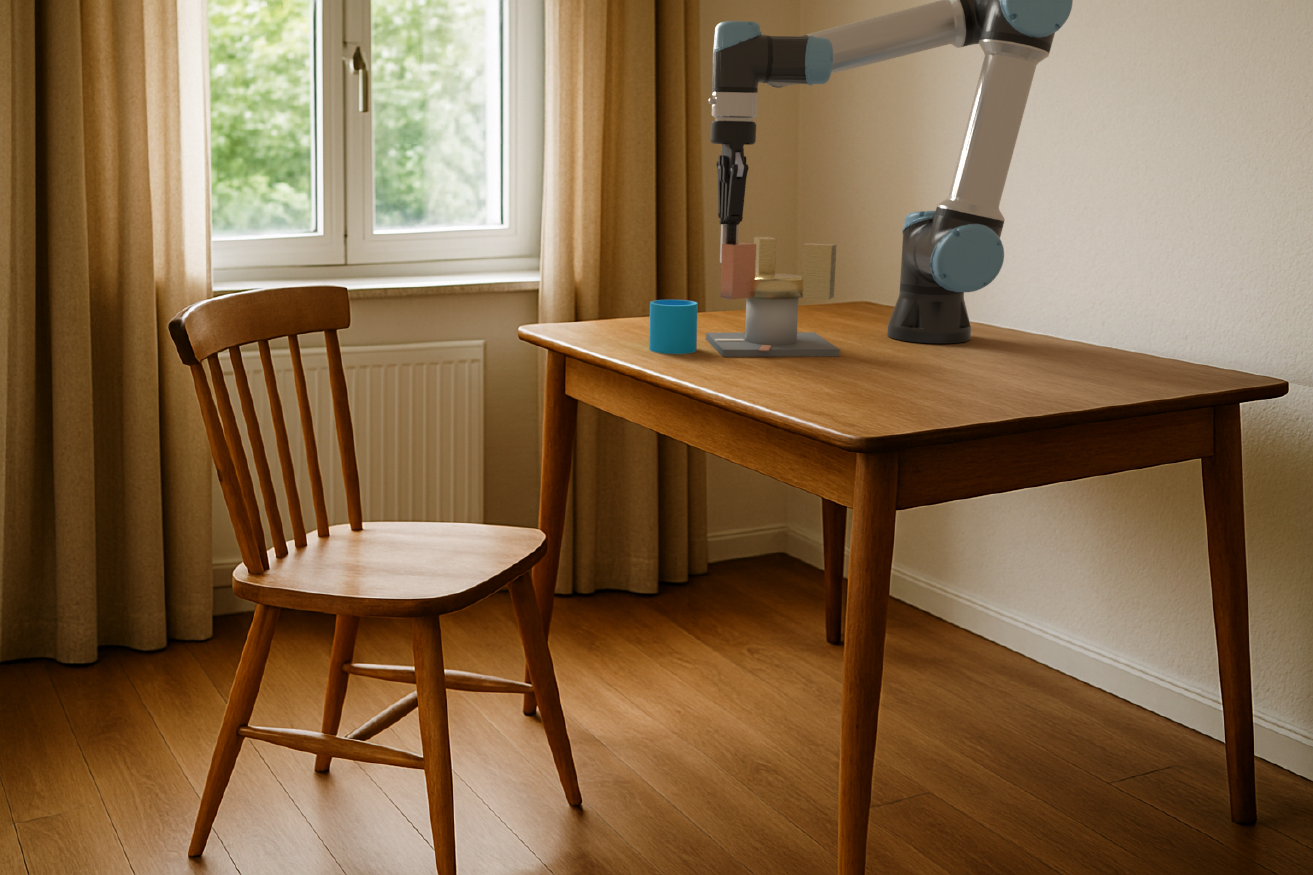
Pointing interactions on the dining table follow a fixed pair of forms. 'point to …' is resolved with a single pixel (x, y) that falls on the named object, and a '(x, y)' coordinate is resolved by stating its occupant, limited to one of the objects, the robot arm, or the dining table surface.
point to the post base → (777, 350)
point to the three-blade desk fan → (755, 276)
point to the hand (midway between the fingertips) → (728, 262)
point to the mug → (673, 326)
